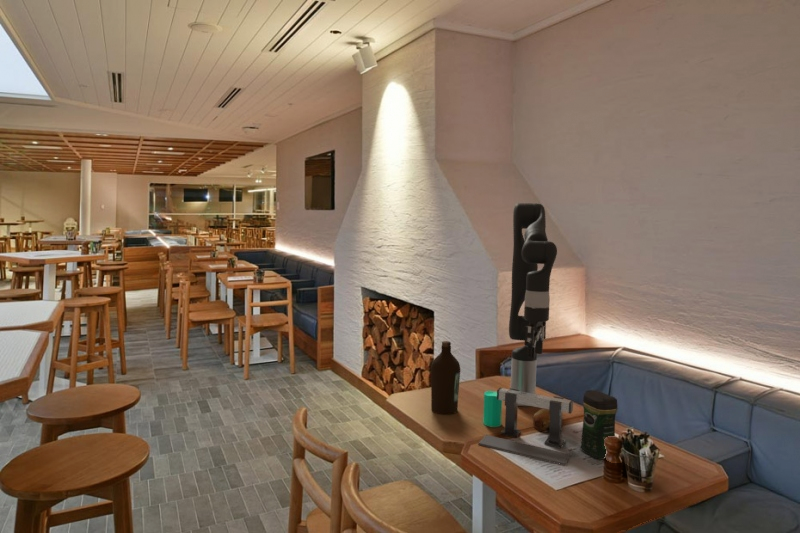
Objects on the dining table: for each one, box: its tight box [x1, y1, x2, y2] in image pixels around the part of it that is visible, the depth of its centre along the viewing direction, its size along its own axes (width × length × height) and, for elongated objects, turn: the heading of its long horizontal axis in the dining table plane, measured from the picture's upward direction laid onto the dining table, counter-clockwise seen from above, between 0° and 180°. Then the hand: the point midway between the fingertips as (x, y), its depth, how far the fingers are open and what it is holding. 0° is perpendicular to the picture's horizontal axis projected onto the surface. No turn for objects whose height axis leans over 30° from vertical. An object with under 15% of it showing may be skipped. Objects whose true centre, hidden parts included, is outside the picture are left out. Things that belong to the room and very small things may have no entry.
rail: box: [496, 387, 574, 414], centre depth 164 cm, size 3×23×3 cm, turn 61°
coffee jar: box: [580, 389, 618, 460], centre depth 155 cm, size 10×8×19 cm
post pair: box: [500, 387, 566, 449], centre depth 165 cm, size 6×19×14 cm, turn 61°
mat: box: [478, 434, 571, 466], centre depth 157 cm, size 7×26×1 cm, turn 61°
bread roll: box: [532, 408, 564, 433], centre depth 175 cm, size 10×10×8 cm
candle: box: [482, 388, 503, 428], centre depth 176 cm, size 6×6×12 cm
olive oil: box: [430, 340, 461, 415], centre depth 188 cm, size 11×11×25 cm
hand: (534, 356), depth 164 cm, fingers open, 8 cm apart
